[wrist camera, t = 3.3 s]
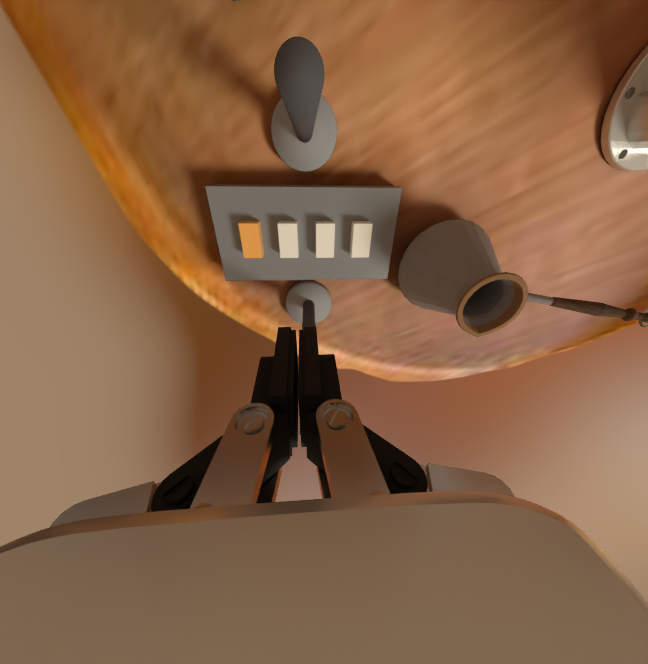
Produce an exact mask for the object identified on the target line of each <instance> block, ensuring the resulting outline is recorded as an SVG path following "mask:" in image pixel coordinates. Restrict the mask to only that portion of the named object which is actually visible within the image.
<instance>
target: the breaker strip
mask: <svg viewBox="0 0 648 664" xmlns="http://www.w3.org/2000/svg"><path fill="white" fill-rule="evenodd" d="M205 188H206V193H207V197H208V202H209V206H210V211H211V215H212V220H213V224H214V229H215V233H216V238H217V243H218V247H219V252H220V256H221V261H222V265H223V270H224V274H225V279H226V281H245V280H340V279H387V277H388V271H389V265H390V259H391V253H392V246H393V240H394V234H395V228H396V222H397V216H398V210H399V203H400V197H401V191H402V188H400V187H396V186H370V185H267V184H212V185H208V186H205Z"/></svg>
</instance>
